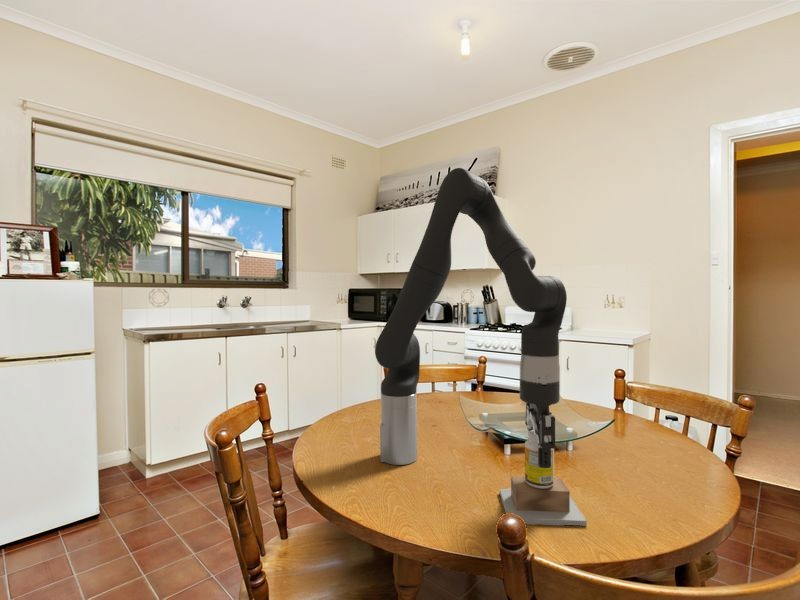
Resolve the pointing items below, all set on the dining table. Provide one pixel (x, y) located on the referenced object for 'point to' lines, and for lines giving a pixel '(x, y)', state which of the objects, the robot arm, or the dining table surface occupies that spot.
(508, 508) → the slate board
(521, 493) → the walnut block
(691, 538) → the dining table surface
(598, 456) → the dining table surface
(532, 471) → the supplement bottle
